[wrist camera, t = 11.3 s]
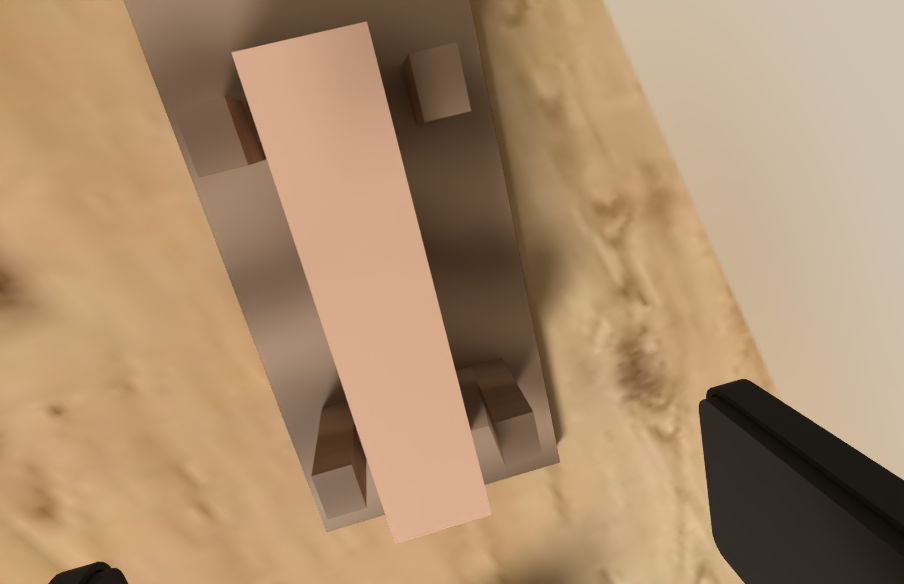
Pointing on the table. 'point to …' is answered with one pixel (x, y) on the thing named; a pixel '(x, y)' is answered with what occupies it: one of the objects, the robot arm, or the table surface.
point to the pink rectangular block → (367, 270)
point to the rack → (435, 202)
